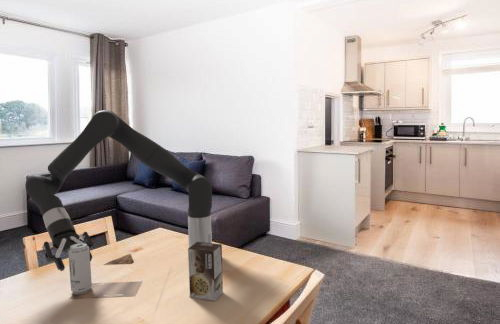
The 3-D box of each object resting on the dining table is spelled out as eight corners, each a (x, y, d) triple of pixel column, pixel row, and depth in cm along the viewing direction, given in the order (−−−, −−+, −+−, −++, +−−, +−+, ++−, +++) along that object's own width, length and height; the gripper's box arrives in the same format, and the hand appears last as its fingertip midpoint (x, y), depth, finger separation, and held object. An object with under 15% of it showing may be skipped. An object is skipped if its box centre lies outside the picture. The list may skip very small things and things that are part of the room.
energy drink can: (67, 291, 110) (64, 246, 108) (85, 284, 115) (82, 241, 113) (77, 297, 107) (74, 250, 105) (95, 289, 112) (92, 244, 110)
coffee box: (223, 292, 111) (222, 244, 109) (215, 302, 105) (214, 251, 103) (198, 287, 114) (197, 240, 112) (188, 297, 108) (187, 247, 106)
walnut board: (142, 284, 117) (142, 281, 117) (135, 299, 107) (135, 296, 107) (82, 286, 116) (81, 283, 115) (68, 302, 106) (68, 299, 106)
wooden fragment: (105, 285, 117) (105, 282, 117) (77, 282, 119) (77, 279, 119) (144, 256, 142) (144, 253, 142) (120, 254, 144) (120, 251, 144)
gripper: (38, 222, 109) (56, 266, 103) (83, 213, 120) (101, 252, 114) (32, 235, 113) (50, 278, 107) (76, 225, 124) (94, 263, 118)
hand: (76, 265), depth 111 cm, fingers open, 8 cm apart
